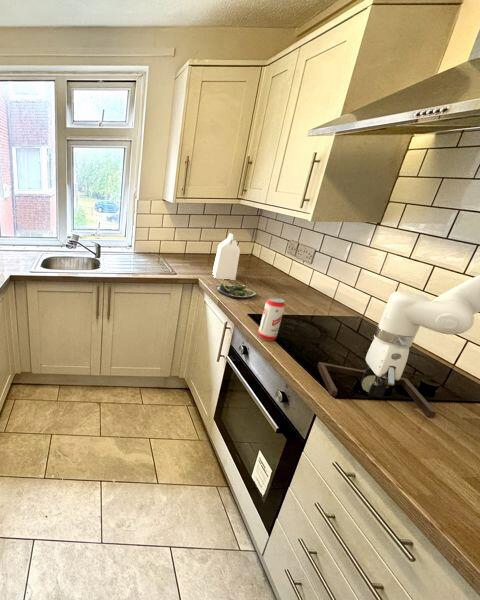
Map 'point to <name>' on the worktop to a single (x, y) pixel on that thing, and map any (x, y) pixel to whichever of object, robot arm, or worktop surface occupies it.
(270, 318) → the beer can
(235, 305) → the worktop surface
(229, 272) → the milk
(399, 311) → the robot arm
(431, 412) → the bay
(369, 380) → the pale green round lump
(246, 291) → the salad plate
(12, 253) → the worktop surface
